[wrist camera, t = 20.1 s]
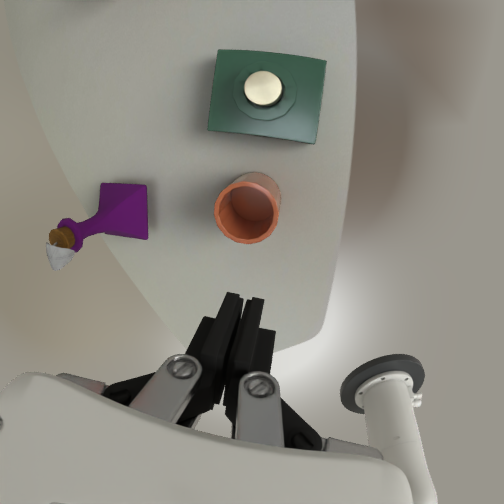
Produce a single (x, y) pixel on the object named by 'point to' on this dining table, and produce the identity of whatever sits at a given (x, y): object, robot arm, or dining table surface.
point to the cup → (248, 208)
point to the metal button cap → (263, 88)
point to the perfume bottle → (102, 221)
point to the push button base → (272, 117)
